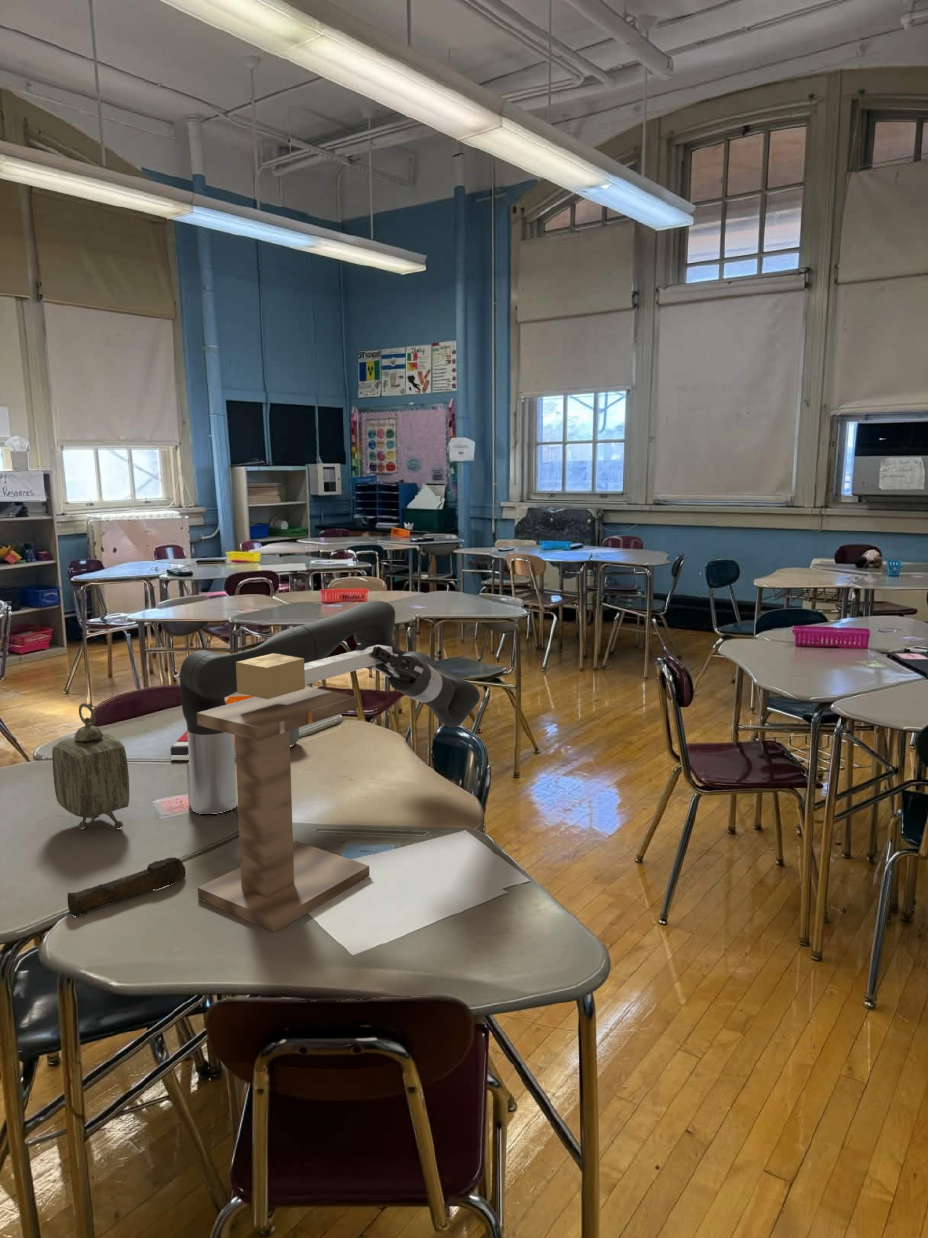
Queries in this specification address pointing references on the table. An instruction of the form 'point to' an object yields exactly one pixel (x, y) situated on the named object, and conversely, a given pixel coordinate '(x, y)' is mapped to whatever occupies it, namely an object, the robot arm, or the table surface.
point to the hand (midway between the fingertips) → (366, 649)
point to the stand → (275, 813)
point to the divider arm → (296, 671)
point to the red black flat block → (181, 746)
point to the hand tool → (127, 886)
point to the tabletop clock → (91, 772)
